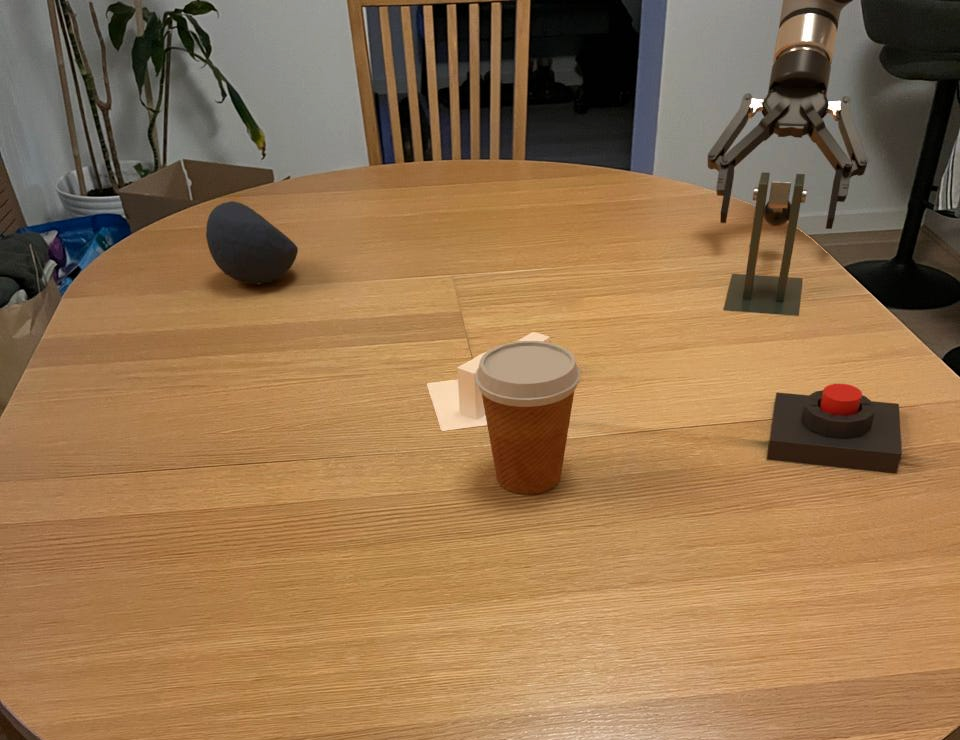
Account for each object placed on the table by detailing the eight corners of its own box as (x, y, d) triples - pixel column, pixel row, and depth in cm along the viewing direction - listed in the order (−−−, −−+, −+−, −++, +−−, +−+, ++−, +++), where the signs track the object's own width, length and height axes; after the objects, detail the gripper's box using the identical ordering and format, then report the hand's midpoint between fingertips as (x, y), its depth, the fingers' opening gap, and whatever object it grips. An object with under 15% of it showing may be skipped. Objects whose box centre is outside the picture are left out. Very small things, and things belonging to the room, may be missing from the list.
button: (858, 401, 95) (862, 385, 94) (858, 419, 92) (862, 402, 91) (820, 398, 96) (823, 381, 94) (819, 415, 93) (822, 399, 92)
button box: (893, 423, 98) (903, 386, 96) (896, 474, 91) (907, 436, 89) (772, 411, 101) (779, 375, 99) (766, 459, 94) (773, 423, 92)
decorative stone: (242, 305, 128) (226, 228, 121) (202, 281, 135) (184, 206, 129) (317, 281, 133) (306, 206, 127) (275, 259, 140) (261, 186, 134)
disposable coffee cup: (464, 493, 92) (457, 377, 84) (500, 445, 98) (497, 332, 90) (559, 511, 89) (561, 393, 81) (590, 460, 95) (594, 345, 87)
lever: (761, 227, 129) (765, 198, 128) (789, 228, 128) (793, 199, 127) (761, 209, 113) (766, 175, 112) (793, 210, 112) (798, 176, 111)
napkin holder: (552, 366, 111) (553, 318, 107) (579, 412, 103) (581, 362, 99) (424, 383, 109) (420, 335, 105) (441, 432, 101) (437, 381, 97)
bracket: (730, 282, 127) (746, 162, 117) (801, 287, 125) (823, 165, 115) (721, 319, 119) (738, 193, 109) (797, 325, 116) (821, 197, 107)
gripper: (896, 84, 128) (871, 240, 127) (706, 80, 134) (681, 229, 133) (907, 47, 121) (881, 211, 120) (706, 44, 126) (679, 201, 126)
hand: (775, 221), depth 126 cm, fingers open, 13 cm apart
